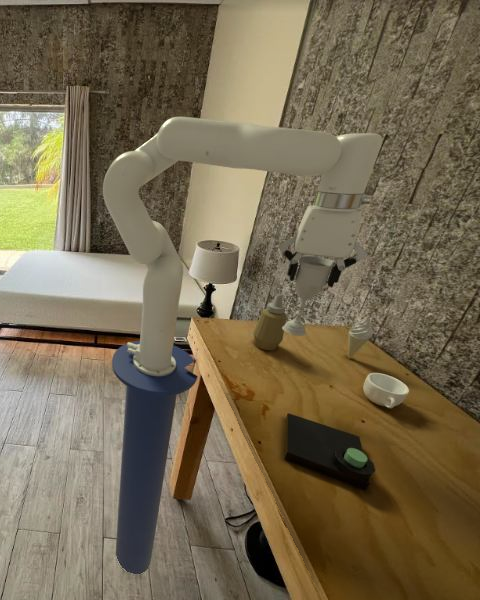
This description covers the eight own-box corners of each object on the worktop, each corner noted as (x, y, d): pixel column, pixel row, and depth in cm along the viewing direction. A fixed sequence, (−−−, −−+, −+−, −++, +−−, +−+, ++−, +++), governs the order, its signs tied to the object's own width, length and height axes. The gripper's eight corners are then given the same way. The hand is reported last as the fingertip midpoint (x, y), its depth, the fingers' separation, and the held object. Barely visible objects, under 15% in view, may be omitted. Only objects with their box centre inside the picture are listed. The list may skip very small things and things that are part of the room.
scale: (284, 460, 64) (289, 447, 62) (285, 419, 74) (289, 406, 72) (369, 494, 58) (378, 479, 56) (358, 444, 67) (365, 431, 66)
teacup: (355, 385, 84) (363, 369, 81) (393, 394, 80) (402, 378, 78) (365, 411, 76) (374, 393, 73) (408, 422, 72) (418, 404, 70)
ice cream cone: (361, 365, 91) (382, 320, 85) (340, 360, 94) (358, 315, 87) (358, 356, 95) (377, 312, 89) (337, 351, 98) (355, 308, 91)
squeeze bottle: (279, 355, 96) (296, 302, 88) (249, 348, 100) (263, 296, 92) (279, 342, 102) (295, 292, 94) (251, 336, 106) (264, 287, 98)
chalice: (285, 320, 83) (306, 254, 75) (315, 331, 78) (340, 261, 70) (272, 329, 79) (293, 260, 71) (303, 341, 74) (328, 268, 66)
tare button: (344, 463, 59) (348, 457, 59) (342, 451, 62) (346, 445, 61) (365, 471, 58) (369, 464, 57) (362, 458, 60) (366, 452, 59)
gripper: (387, 201, 64) (354, 283, 71) (287, 196, 71) (267, 270, 79) (398, 207, 58) (361, 295, 66) (287, 201, 66) (266, 280, 73)
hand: (310, 281), depth 72 cm, fingers closed on chalice, 6 cm apart
